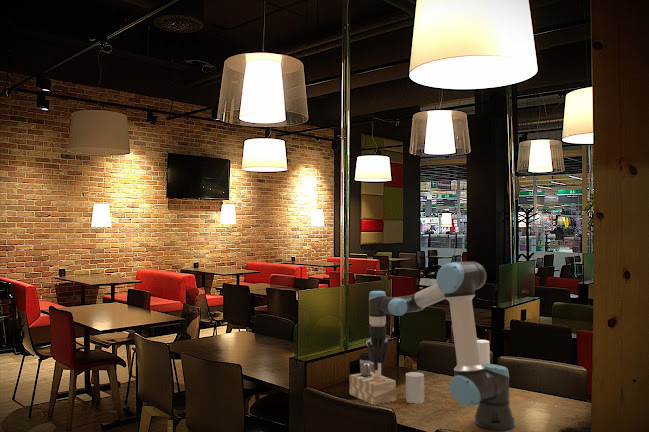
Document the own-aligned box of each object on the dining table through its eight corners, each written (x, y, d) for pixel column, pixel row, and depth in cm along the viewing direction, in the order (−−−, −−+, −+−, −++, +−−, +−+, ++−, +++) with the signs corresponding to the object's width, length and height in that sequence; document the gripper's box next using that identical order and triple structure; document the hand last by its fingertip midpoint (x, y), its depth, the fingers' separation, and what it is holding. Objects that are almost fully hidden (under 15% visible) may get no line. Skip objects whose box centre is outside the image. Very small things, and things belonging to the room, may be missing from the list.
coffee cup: (356, 382, 282) (355, 352, 283) (370, 380, 286) (370, 350, 286) (364, 386, 275) (363, 355, 275) (379, 384, 278) (378, 354, 279)
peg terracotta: (385, 397, 251) (385, 377, 251) (377, 399, 249) (377, 379, 249) (379, 395, 255) (379, 375, 255) (371, 397, 252) (371, 377, 253)
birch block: (395, 400, 250) (395, 380, 251) (374, 405, 244) (374, 384, 245) (370, 390, 268) (370, 371, 268) (349, 394, 262) (349, 374, 262)
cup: (424, 404, 245) (423, 377, 245) (405, 403, 247) (405, 376, 247) (424, 398, 253) (424, 372, 253) (406, 398, 254) (406, 371, 255)
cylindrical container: (478, 392, 262) (477, 339, 263) (493, 394, 258) (491, 340, 259) (472, 395, 257) (470, 341, 258) (486, 398, 252) (485, 343, 253)
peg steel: (372, 382, 260) (372, 362, 260) (364, 383, 257) (364, 364, 258) (367, 380, 263) (366, 361, 264) (359, 381, 261) (359, 362, 262)
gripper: (384, 322, 259) (384, 373, 259) (361, 325, 253) (361, 377, 252) (393, 324, 253) (394, 376, 252) (370, 327, 246) (371, 381, 246)
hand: (378, 376), depth 252 cm, fingers closed
